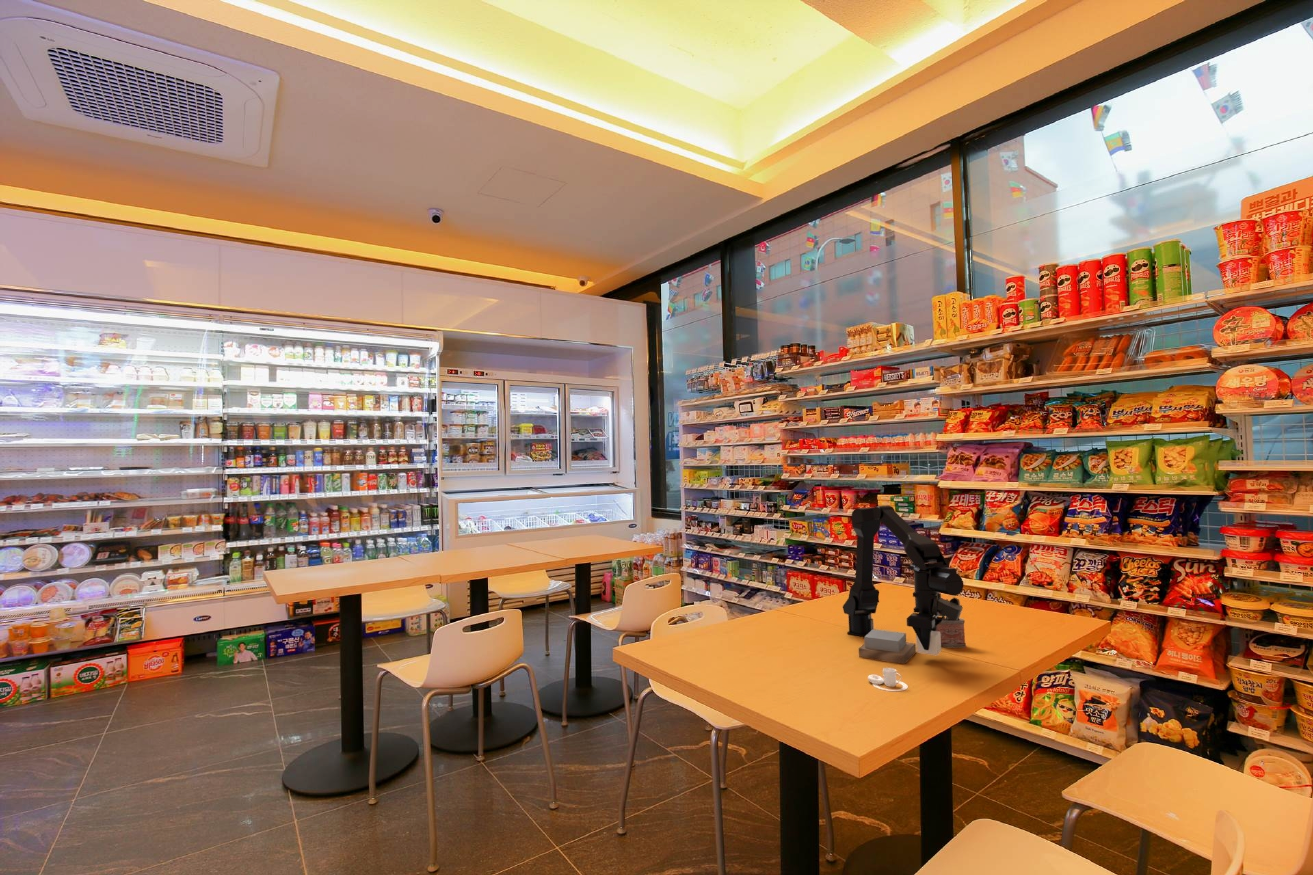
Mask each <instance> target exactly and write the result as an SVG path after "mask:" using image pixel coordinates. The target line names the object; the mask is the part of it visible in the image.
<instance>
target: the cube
mask: <svg viewBox="0 0 1313 875" xmlns="http://www.w3.org/2000/svg"><path fill="white" fill-rule="evenodd" d="M915 637H916V643H915V644H916V653H919V654H925V655H930V656H931V655H932V656H938V655H939V654H940V652H941V651H942V647H941V634H940V632H939V631H931V637H930V646H929V650H924V648H923V646H922V644H921V642H920V640H919V638H918V636H917V635H916V634H915Z"/></svg>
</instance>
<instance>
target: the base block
mask: <svg viewBox="0 0 1313 875" xmlns="http://www.w3.org/2000/svg"><path fill="white" fill-rule="evenodd" d="M916 653H917V644H916V643H914V642H907V641H906V645H905V646H904V647H903V648H902V650H901V651H900V652H899V653H898V652H891V651H884V650H877V649H870V648H865V643H864V644H862V645H861V646H860V647H859V648H858V658H863V659H868V660H869V659H870V660H876V661H881V662H888V663H895V664H902V665H905V664H907V662H908V661H909V660H910V659H911V658H912V657H913V656H914V655H915V654H916Z"/></svg>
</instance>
